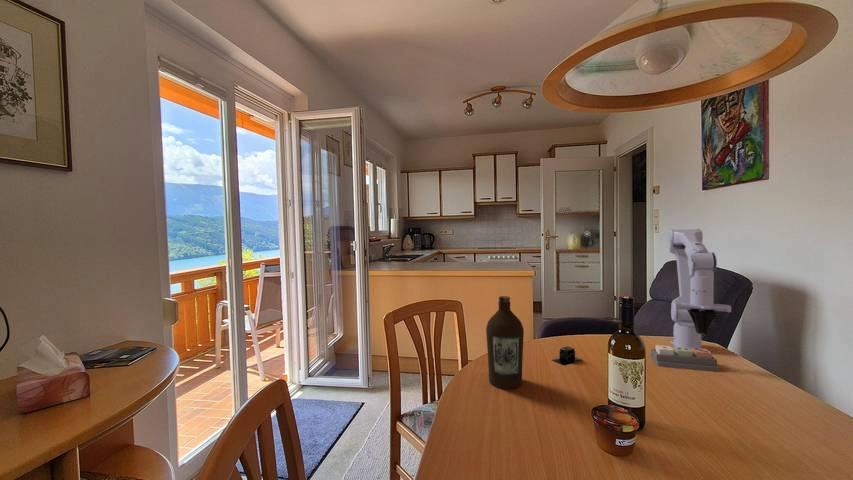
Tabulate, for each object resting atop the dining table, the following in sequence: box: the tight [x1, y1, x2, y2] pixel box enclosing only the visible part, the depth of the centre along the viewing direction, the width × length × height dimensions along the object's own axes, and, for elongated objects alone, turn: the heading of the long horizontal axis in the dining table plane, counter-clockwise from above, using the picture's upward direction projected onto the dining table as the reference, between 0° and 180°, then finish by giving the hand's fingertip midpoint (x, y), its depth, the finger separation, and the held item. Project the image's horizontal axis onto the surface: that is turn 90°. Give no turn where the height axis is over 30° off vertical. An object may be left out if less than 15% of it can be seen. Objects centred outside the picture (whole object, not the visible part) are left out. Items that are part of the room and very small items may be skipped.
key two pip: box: [672, 345, 693, 357], centre depth 111 cm, size 4×4×2 cm
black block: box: [551, 346, 584, 366], centre depth 116 cm, size 12×7×5 cm, turn 116°
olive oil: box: [485, 295, 525, 390], centre depth 100 cm, size 11×11×25 cm
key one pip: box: [655, 344, 674, 356], centre depth 112 cm, size 4×4×2 cm
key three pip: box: [691, 348, 713, 359], centre depth 109 cm, size 4×4×2 cm
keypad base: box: [649, 348, 720, 372], centre depth 111 cm, size 8×16×3 cm, turn 72°
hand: (701, 333), depth 109 cm, fingers closed
